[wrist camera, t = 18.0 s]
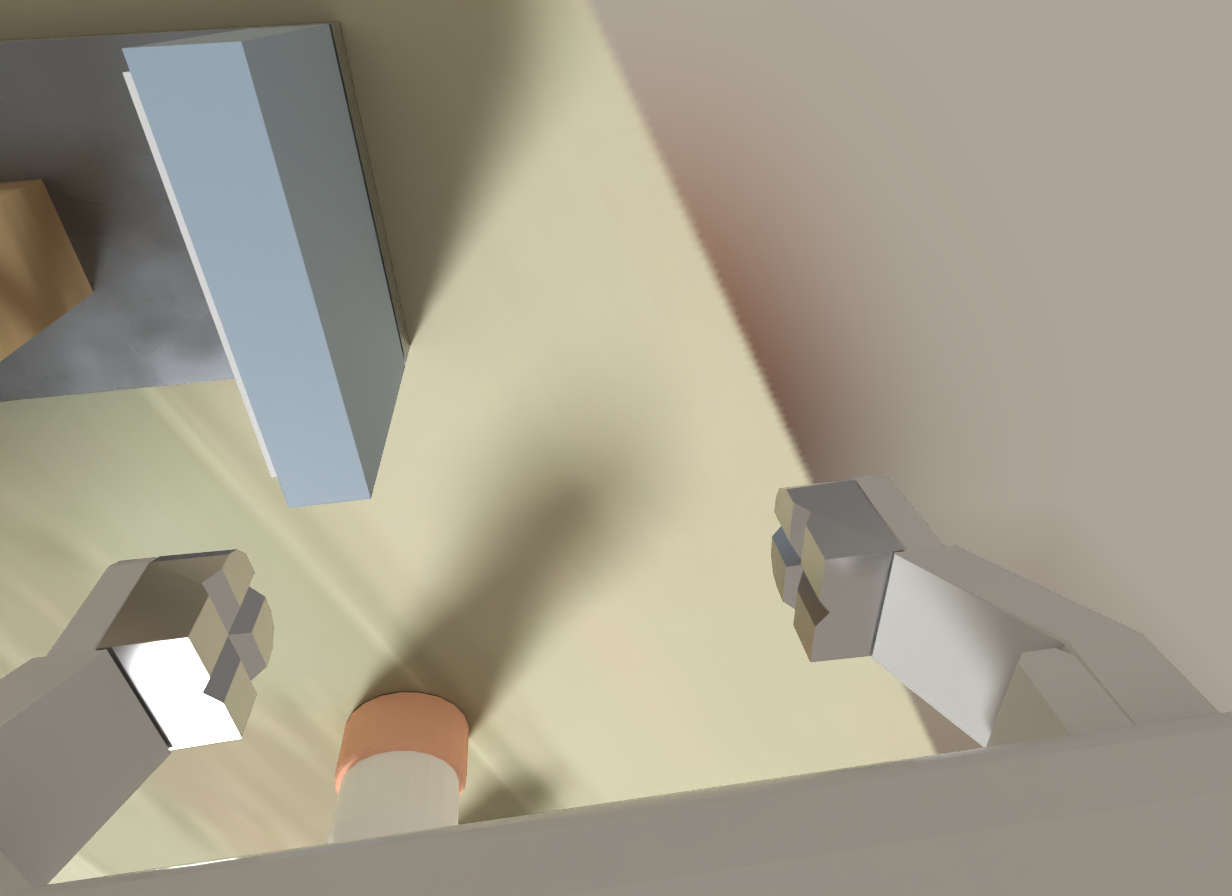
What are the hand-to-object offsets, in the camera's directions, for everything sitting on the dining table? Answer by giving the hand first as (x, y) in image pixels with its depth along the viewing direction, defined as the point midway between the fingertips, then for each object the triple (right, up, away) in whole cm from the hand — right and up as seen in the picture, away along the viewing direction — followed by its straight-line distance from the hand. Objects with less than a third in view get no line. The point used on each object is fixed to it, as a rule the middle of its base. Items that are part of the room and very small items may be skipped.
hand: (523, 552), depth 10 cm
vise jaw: (-9, +10, +16) cm, 21 cm away
